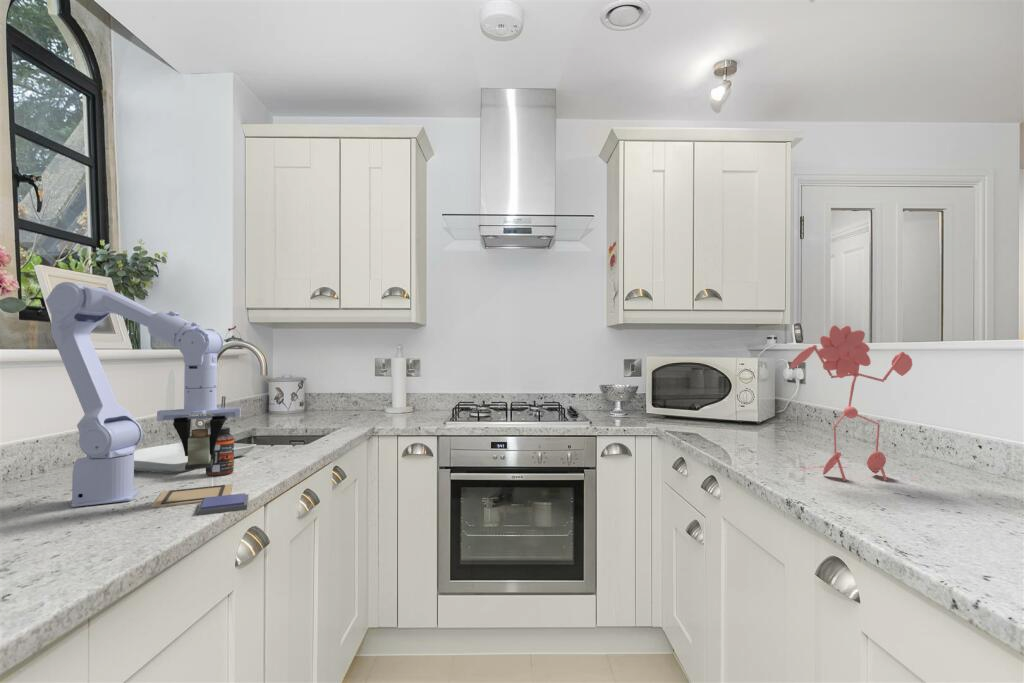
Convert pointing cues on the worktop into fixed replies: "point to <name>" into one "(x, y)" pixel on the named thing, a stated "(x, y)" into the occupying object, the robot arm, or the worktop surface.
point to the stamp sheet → (190, 495)
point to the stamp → (199, 450)
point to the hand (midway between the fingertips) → (199, 454)
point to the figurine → (845, 357)
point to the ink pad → (223, 503)
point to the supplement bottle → (222, 454)
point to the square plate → (172, 457)
